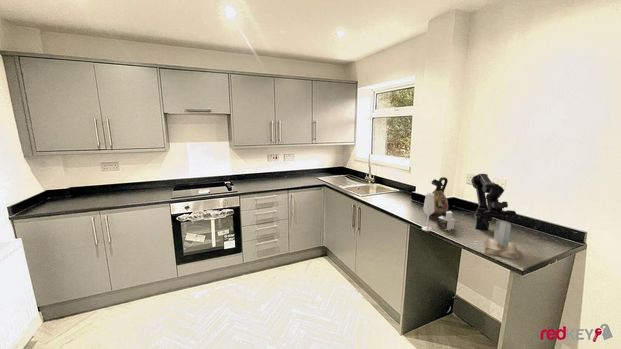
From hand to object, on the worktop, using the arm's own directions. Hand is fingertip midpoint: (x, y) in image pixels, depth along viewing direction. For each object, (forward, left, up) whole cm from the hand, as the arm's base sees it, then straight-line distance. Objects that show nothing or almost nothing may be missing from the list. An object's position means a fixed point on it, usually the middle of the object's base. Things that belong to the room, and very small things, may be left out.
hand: (497, 227), depth 143 cm
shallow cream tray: (+2, -7, -11) cm, 13 cm away
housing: (+2, -7, -8) cm, 10 cm away
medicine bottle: (-26, +12, -11) cm, 31 cm away
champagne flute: (-36, +4, -11) cm, 38 cm away
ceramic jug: (-34, +34, -11) cm, 50 cm away
